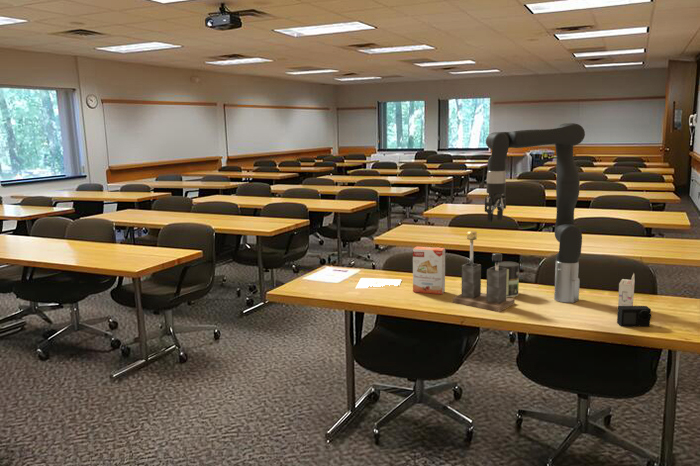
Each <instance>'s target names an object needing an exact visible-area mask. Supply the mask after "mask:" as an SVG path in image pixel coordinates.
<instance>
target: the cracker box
mask: <svg viewBox="0 0 700 466" xmlns="http://www.w3.org/2000/svg"><path fill="white" fill-rule="evenodd" d="M445 290H446V247H432V246H431V247H429V246H418V245H417V246H415V247H414V248H412V292H414V293H424V294H431V295H432V294H433V295H443V294H444V292H445Z"/></svg>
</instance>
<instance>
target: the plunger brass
mask: <svg viewBox="0 0 700 466" xmlns="http://www.w3.org/2000/svg"><path fill="white" fill-rule="evenodd" d="M477 233H478V232H477V231H473V230H471V231H470V230H469V231H467V232H466V240H469V263H470V266H471V267H473V263H474V241H475V240H477V238H478V237H477V235H478V234H477Z"/></svg>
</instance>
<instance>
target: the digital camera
mask: <svg viewBox="0 0 700 466" xmlns="http://www.w3.org/2000/svg"><path fill="white" fill-rule="evenodd" d="M651 311H652V309H651V308H650V307H648V306H647V305H633V306H617V313H616V314H617V318H616V323H617V325H619V326H620V328H622V327H623V328H625V327H626V328H627V327H628V328H649V327H650V326H651V319H652V312H651Z"/></svg>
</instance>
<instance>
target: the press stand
mask: <svg viewBox="0 0 700 466" xmlns="http://www.w3.org/2000/svg"><path fill="white" fill-rule="evenodd" d="M506 280H507V268H500V267H499V271H497V270H495V266H492V267H489V268H487V269H486V293H483V292H481V291H482V290H481V289H482V285H481V284H482V265H481V264H480V263H479V264H478V263H474V262H473V267H471V266H470V262H467V263H465V264H464V263H463V264H461V293H460V294H458V295H456V296H454V297H452V303H455V304H459V305H464V306H470V307H474V308H478V309H484V310H489V311H494V312H497V313H500V312H501V311H503V310H505V309H508V308H509V307H511V306H513V305H515V298H513V297H506Z"/></svg>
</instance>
